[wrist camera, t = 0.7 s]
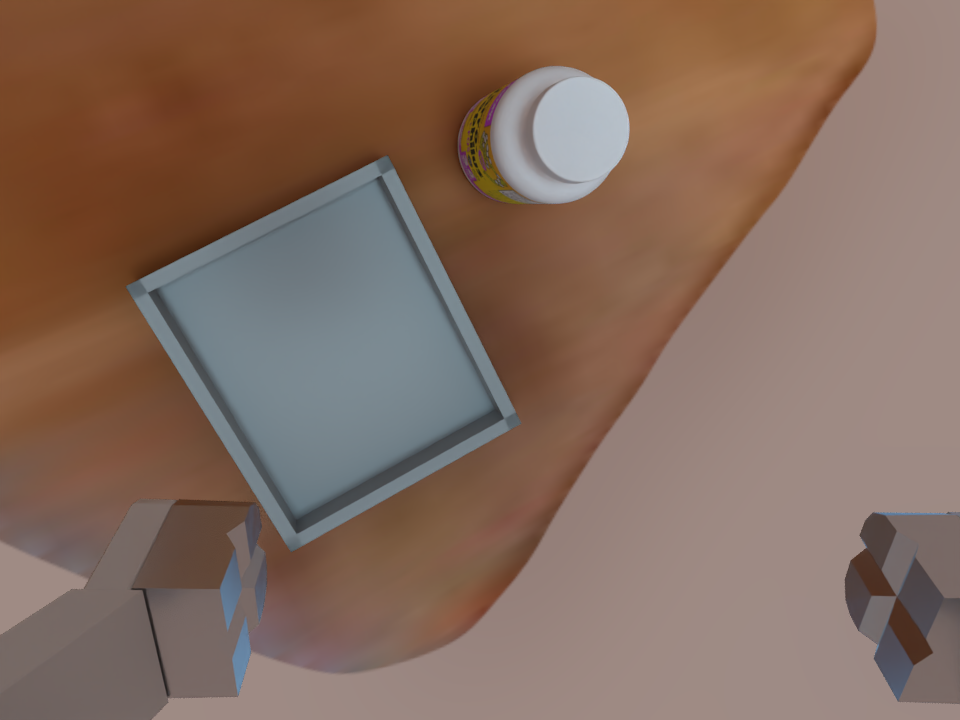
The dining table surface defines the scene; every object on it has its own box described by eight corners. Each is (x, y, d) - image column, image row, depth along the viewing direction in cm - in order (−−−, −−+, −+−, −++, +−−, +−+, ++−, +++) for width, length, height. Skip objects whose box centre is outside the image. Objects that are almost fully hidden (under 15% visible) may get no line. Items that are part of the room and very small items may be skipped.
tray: (136, 281, 45) (125, 286, 42) (381, 158, 46) (387, 155, 44) (291, 532, 49) (291, 552, 46) (508, 411, 51) (521, 423, 48)
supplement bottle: (468, 77, 47) (532, 30, 34) (571, 107, 48) (667, 74, 36) (443, 189, 48) (497, 183, 35) (545, 215, 49) (630, 218, 37)
